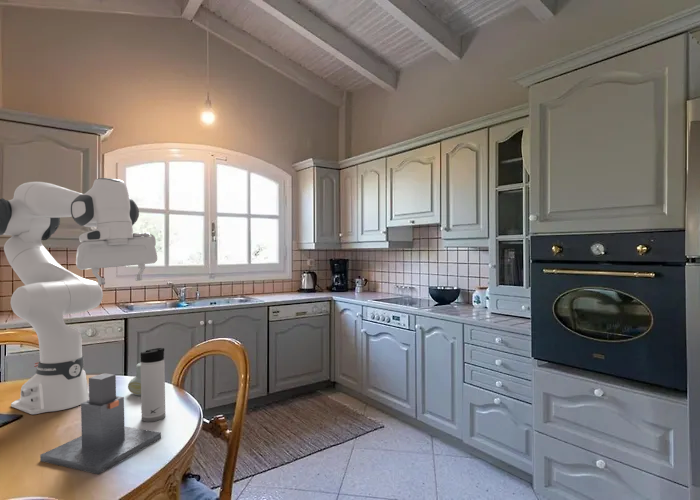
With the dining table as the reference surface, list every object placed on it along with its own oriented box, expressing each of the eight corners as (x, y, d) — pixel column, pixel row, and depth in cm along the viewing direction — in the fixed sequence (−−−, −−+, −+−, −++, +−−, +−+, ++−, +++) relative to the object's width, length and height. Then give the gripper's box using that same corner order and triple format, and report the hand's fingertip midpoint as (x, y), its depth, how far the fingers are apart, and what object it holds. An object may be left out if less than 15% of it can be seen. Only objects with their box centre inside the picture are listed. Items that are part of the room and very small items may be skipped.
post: (89, 444, 102) (88, 378, 102) (104, 436, 106) (103, 373, 106) (102, 446, 101) (101, 379, 101) (117, 439, 105) (116, 374, 105)
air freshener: (123, 395, 142) (123, 365, 142) (143, 387, 150) (142, 359, 150) (149, 398, 138) (148, 368, 138) (168, 390, 146) (167, 361, 146)
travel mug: (157, 422, 119) (155, 351, 119) (136, 421, 120) (135, 350, 120) (171, 414, 125) (169, 346, 125) (151, 412, 126) (149, 345, 126)
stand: (40, 461, 98) (39, 409, 98) (108, 429, 115) (107, 385, 115) (98, 474, 92) (97, 418, 92) (161, 438, 109) (160, 391, 109)
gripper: (151, 233, 130) (156, 278, 130) (72, 237, 117) (77, 287, 117) (157, 230, 125) (162, 277, 125) (75, 234, 112) (80, 286, 112)
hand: (120, 282), depth 121 cm, fingers open, 8 cm apart
